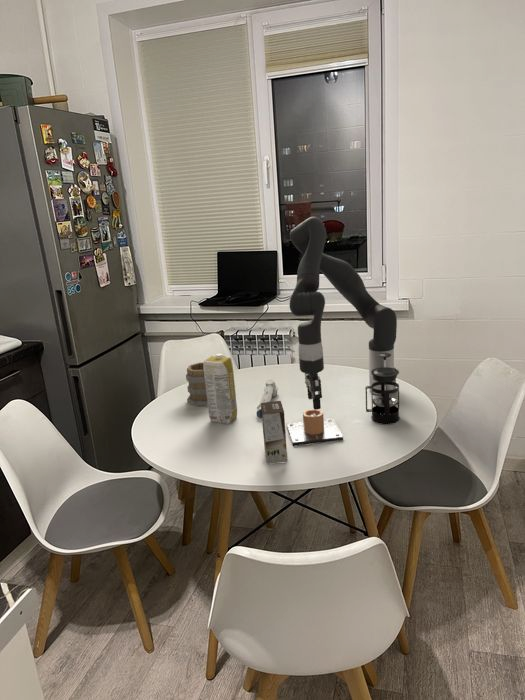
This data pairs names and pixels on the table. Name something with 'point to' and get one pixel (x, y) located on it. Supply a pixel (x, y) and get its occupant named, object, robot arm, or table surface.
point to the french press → (384, 395)
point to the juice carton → (220, 389)
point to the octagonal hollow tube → (313, 421)
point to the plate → (303, 438)
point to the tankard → (196, 385)
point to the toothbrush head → (267, 395)
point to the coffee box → (274, 432)
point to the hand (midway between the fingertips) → (314, 403)
